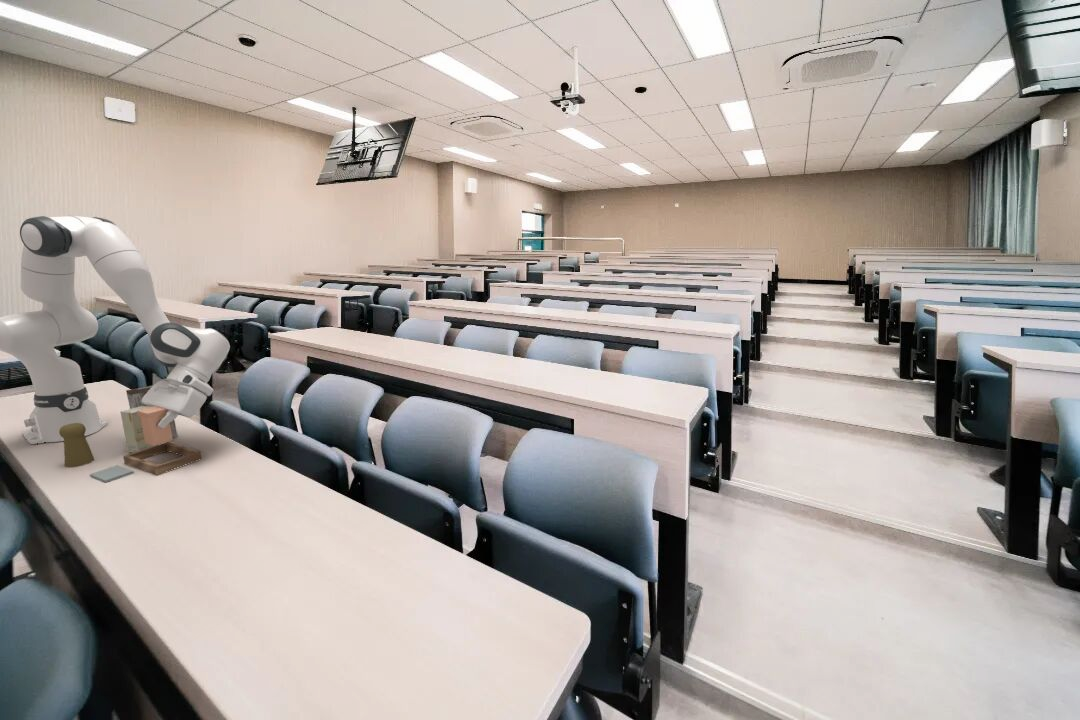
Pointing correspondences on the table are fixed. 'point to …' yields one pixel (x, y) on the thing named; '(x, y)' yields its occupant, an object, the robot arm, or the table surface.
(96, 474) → the slate mat
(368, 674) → the table surface
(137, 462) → the walnut frame
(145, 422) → the peach upright block
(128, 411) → the skincare box
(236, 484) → the table surface
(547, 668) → the table surface
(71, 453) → the cork
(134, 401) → the coffee box
